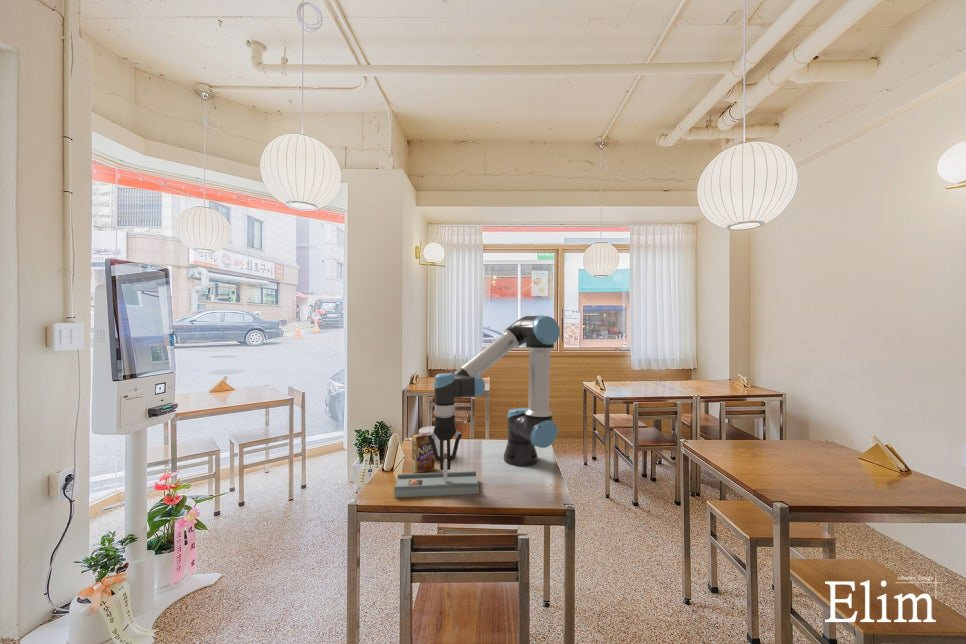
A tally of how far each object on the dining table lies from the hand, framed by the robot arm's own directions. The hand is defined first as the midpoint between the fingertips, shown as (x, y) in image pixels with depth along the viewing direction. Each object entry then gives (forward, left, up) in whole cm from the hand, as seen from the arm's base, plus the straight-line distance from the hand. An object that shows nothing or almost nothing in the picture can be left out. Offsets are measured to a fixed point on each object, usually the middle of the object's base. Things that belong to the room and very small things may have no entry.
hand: (445, 478), depth 150 cm
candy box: (+9, -19, -4) cm, 21 cm away
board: (+3, 0, -4) cm, 5 cm away
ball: (+12, 0, -2) cm, 12 cm away
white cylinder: (+6, -38, -4) cm, 39 cm away
